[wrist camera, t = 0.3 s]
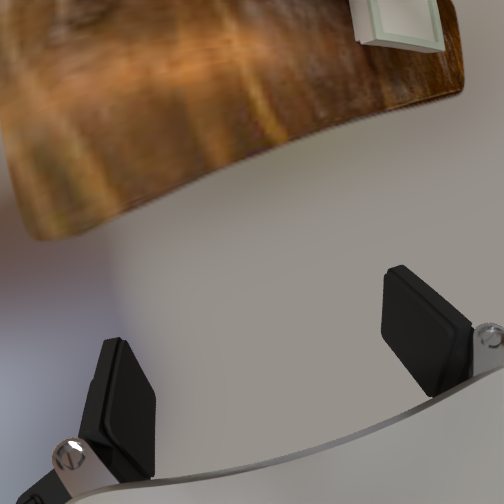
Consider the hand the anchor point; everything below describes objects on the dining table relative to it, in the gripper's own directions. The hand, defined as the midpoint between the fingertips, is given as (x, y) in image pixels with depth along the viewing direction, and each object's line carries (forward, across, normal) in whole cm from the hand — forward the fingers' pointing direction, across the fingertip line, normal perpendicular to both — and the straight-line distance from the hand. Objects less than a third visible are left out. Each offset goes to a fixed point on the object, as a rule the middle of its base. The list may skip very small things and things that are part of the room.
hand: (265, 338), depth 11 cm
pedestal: (+30, -27, -19) cm, 45 cm away
